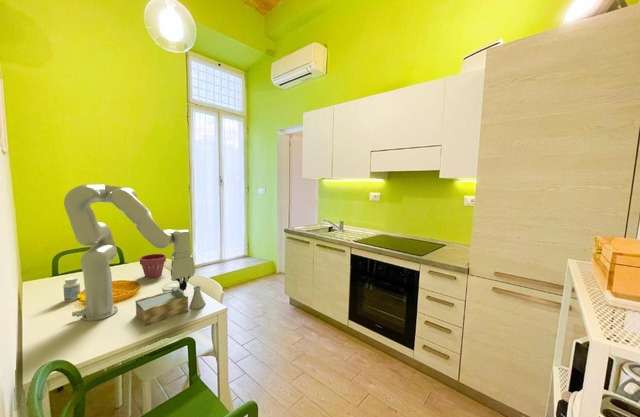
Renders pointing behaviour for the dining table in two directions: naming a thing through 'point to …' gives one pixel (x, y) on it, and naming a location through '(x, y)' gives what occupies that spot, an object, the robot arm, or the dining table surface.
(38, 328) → the dining table surface
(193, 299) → the flask
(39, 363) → the dining table surface
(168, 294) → the lid
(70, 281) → the pill bottle
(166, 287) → the ramekin
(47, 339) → the dining table surface
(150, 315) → the wooden box
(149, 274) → the plant pot
